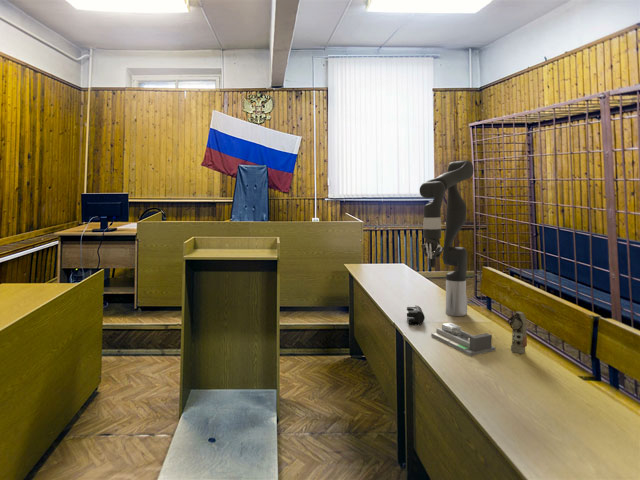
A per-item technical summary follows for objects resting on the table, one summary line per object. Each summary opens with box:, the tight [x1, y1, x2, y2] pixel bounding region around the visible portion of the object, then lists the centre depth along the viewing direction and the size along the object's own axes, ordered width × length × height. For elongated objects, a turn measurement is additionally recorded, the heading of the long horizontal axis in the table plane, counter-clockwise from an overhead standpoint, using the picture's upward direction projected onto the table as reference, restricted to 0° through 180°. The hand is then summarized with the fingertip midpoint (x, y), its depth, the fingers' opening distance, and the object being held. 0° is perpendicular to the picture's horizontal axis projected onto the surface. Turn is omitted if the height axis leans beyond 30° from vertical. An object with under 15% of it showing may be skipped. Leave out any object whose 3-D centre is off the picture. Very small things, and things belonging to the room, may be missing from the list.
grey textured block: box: [441, 322, 462, 338], centre depth 151 cm, size 4×8×4 cm, turn 21°
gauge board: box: [430, 327, 497, 357], centre depth 146 cm, size 12×22×6 cm, turn 21°
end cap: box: [406, 305, 426, 326], centre depth 172 cm, size 10×7×7 cm
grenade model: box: [506, 310, 528, 355], centre depth 134 cm, size 6×7×15 cm
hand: (432, 266), depth 163 cm, fingers closed
